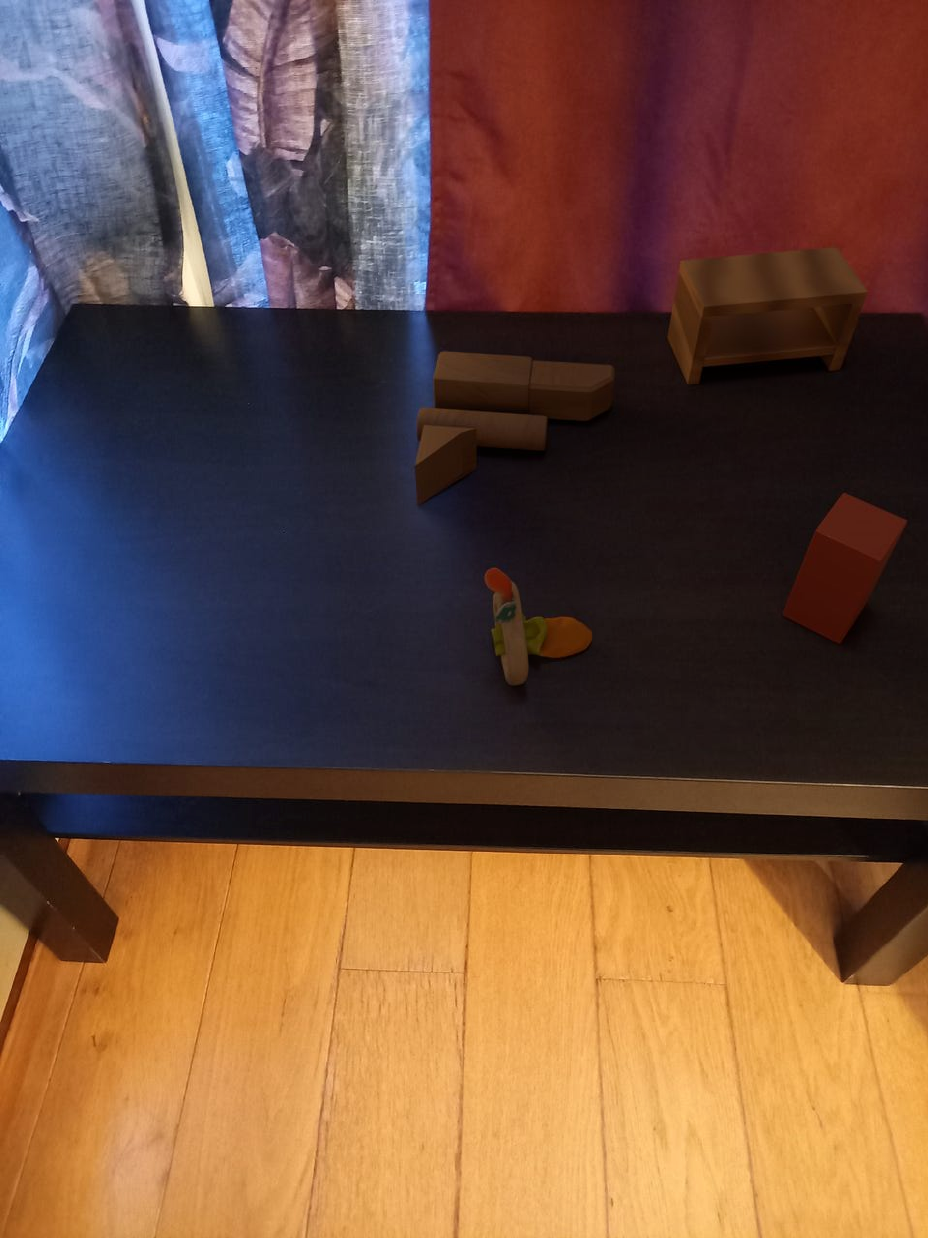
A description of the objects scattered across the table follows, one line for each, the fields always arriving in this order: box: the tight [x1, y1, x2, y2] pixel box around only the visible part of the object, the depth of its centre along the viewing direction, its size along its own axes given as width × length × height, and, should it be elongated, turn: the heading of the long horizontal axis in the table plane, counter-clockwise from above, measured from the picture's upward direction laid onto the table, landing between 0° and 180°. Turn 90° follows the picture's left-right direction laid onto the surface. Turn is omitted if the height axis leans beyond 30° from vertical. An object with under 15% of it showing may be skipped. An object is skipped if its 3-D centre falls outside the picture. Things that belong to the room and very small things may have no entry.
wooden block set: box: [414, 350, 616, 506], centre depth 87 cm, size 17×6×18 cm
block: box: [781, 492, 908, 645], centre depth 73 cm, size 5×5×10 cm
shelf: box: [666, 246, 869, 386], centre depth 95 cm, size 16×8×9 cm, turn 97°
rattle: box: [484, 567, 593, 686], centre depth 70 cm, size 8×8×12 cm
